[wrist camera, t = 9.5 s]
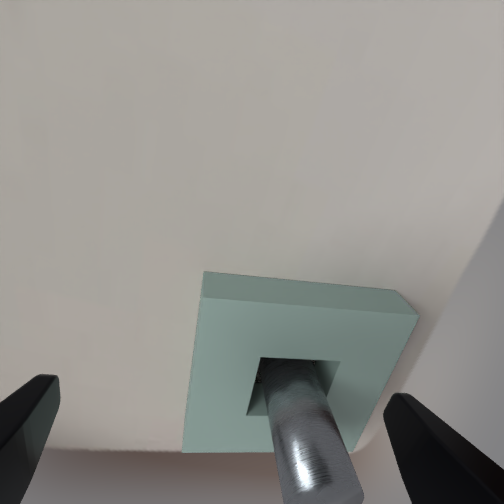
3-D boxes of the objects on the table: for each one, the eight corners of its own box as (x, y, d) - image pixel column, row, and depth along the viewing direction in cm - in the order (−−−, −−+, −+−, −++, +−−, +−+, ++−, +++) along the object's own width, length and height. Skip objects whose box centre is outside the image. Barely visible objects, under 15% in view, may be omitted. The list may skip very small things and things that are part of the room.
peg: (300, 376, 25) (349, 524, 16) (253, 374, 25) (277, 528, 16) (313, 338, 24) (375, 480, 15) (263, 335, 23) (296, 482, 14)
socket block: (339, 418, 28) (352, 451, 26) (185, 416, 26) (181, 452, 23) (395, 290, 23) (419, 315, 20) (203, 271, 20) (202, 297, 17)
